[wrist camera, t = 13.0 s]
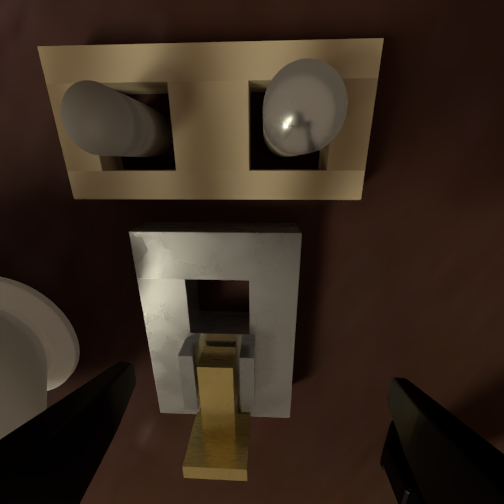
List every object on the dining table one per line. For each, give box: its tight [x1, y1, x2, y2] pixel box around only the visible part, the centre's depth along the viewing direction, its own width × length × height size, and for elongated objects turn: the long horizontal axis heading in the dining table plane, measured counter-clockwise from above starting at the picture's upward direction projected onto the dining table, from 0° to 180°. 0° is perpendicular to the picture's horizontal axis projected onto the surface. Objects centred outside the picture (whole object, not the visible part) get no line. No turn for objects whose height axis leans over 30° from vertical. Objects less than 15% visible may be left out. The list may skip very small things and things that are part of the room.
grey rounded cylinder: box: [263, 58, 348, 157], centre depth 13 cm, size 3×3×8 cm
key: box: [183, 346, 250, 481], centre depth 18 cm, size 4×8×4 cm, turn 0°
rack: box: [37, 38, 384, 200], centre depth 14 cm, size 18×8×6 cm, turn 90°
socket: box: [129, 221, 302, 418], centre depth 19 cm, size 11×16×5 cm
